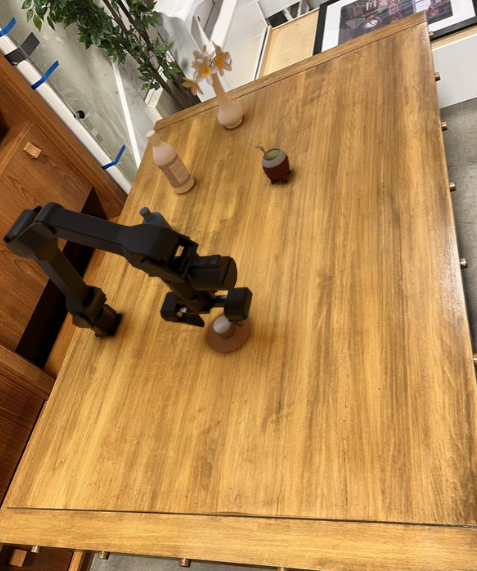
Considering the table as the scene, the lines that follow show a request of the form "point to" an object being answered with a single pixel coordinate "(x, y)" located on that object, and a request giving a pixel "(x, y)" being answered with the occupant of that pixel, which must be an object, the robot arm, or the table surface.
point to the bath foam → (170, 164)
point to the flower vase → (215, 83)
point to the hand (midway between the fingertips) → (222, 325)
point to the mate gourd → (275, 164)
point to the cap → (224, 327)
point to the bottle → (153, 218)
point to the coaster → (230, 343)
